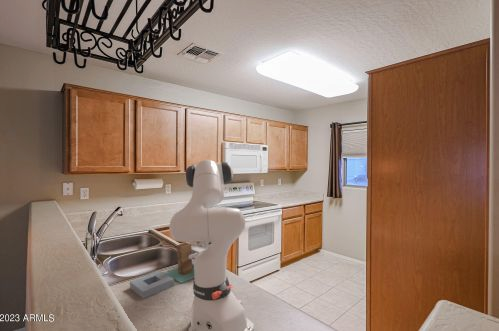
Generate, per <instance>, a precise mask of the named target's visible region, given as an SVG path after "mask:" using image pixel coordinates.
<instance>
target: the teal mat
mask: <svg viewBox="0 0 499 331" xmlns="http://www.w3.org/2000/svg"><path fill="white" fill-rule="evenodd" d="M164 273H165V274H166V275H168V276H170V277H172V278H173V279H174V281H176V282H178V283H180V284H184V283H185V282H189V281H191V280H192V279H194V265H192V272H191V273H189V274H186V275H184V276H183V275H181V274H179V273H178V267H177V268H174V269H172V270H169V271H166V272H164Z"/></svg>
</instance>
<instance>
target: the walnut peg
mask: <svg viewBox="0 0 499 331" xmlns="http://www.w3.org/2000/svg"><path fill="white" fill-rule="evenodd" d="M188 243H189V242H182V243H180V244H177V245H176V248H177V249H176V253H177V268H178V273H179V274H181V275H183V276H184V275H186V274H189V273H191V272H192V266H193V258H192V259H188V258H187V256H188V255H189V254H192V253H191V244H188Z"/></svg>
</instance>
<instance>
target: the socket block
mask: <svg viewBox="0 0 499 331" xmlns="http://www.w3.org/2000/svg"><path fill="white" fill-rule="evenodd" d="M165 273H166V272H162V270H157V271H155V272H151V273H149V274H147V275H143V276H141V277H138V278H135V279H132V280H130V281H129V289H131V291H133V292H134V293H135V294H137V295H138V296H139V297H140V298H142V299H143V300H144V299H146V298H149V297H150V296H154V295H155V294H158V293H160V292H162V291H165V290H167V289H170V288H171V287H174V286H175V280H174V279H173V278H172V277H170V276H168V275H166V274H165Z"/></svg>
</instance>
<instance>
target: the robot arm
mask: <svg viewBox="0 0 499 331" xmlns="http://www.w3.org/2000/svg"><path fill="white" fill-rule="evenodd" d="M233 177H234V170H233V168H232V166H231V164H230V163H229V162H226V161H221V162H216V161H213V160H211V159H202V160H201V161H199V162H198V163H197V164H193V165H189V166H187V168H186V169H185V173H184V179H185V181H186V184H187V186H188V187H190V188H192V195H191V197H190V200H189V201H188V203H187V204H186V205H184V207H183V208H182V209H180V210H179V211H176V213H174V214H173V216H172V217H171V220H169V221H170V222H169V226H168V227H169V228H168V229H169V233H170V235H171V237H172V239H173V240H174V241H176V242H181V243H188V244H191V253H192V254H189V255H188V256H187V258H188V259H192V260H193V259H194V260H193V266H194V278H193V279H194V280H193V282H192V283H193V284H192V289H193V295H194V296H193V301H192V303H191V311H190V312H191V314H190V316H191V317H190V326H189V327H188V331H254V330H253V329H255V324H254V323H253V322H252V321H251V320H250V319H249V318H248V317H247V314H246V309H245V307H244V306H243V301H242V300H241V299H238V298H237V297H236V296H235V294H234V292H232V288H233V284H232V283H231V284H230V282H229V279H228V276H227V262H228V261H227V259H228V253H229V251H230V248H231V246H233V244H234V242H235V241H236V240H237V239H238V238H240V236H241V235H242V234H243V233H244V231H245V228H246V219H245V215H244V214H243V212H242V211H241V209H239V208H235V207H227V206H224V207H222V206H221V207H216V206H217V205H218V204H220V203H221V202H222V201H223V200H224V199H225V188H224V185H228V184H231V182H232V181H233Z"/></svg>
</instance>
